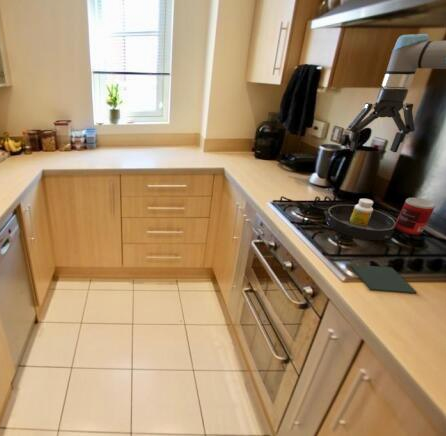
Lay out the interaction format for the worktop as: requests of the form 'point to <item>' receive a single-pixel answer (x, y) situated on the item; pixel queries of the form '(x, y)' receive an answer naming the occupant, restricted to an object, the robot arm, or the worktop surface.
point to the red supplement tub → (414, 216)
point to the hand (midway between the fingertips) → (372, 151)
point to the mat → (382, 279)
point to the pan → (375, 229)
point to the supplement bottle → (361, 213)
